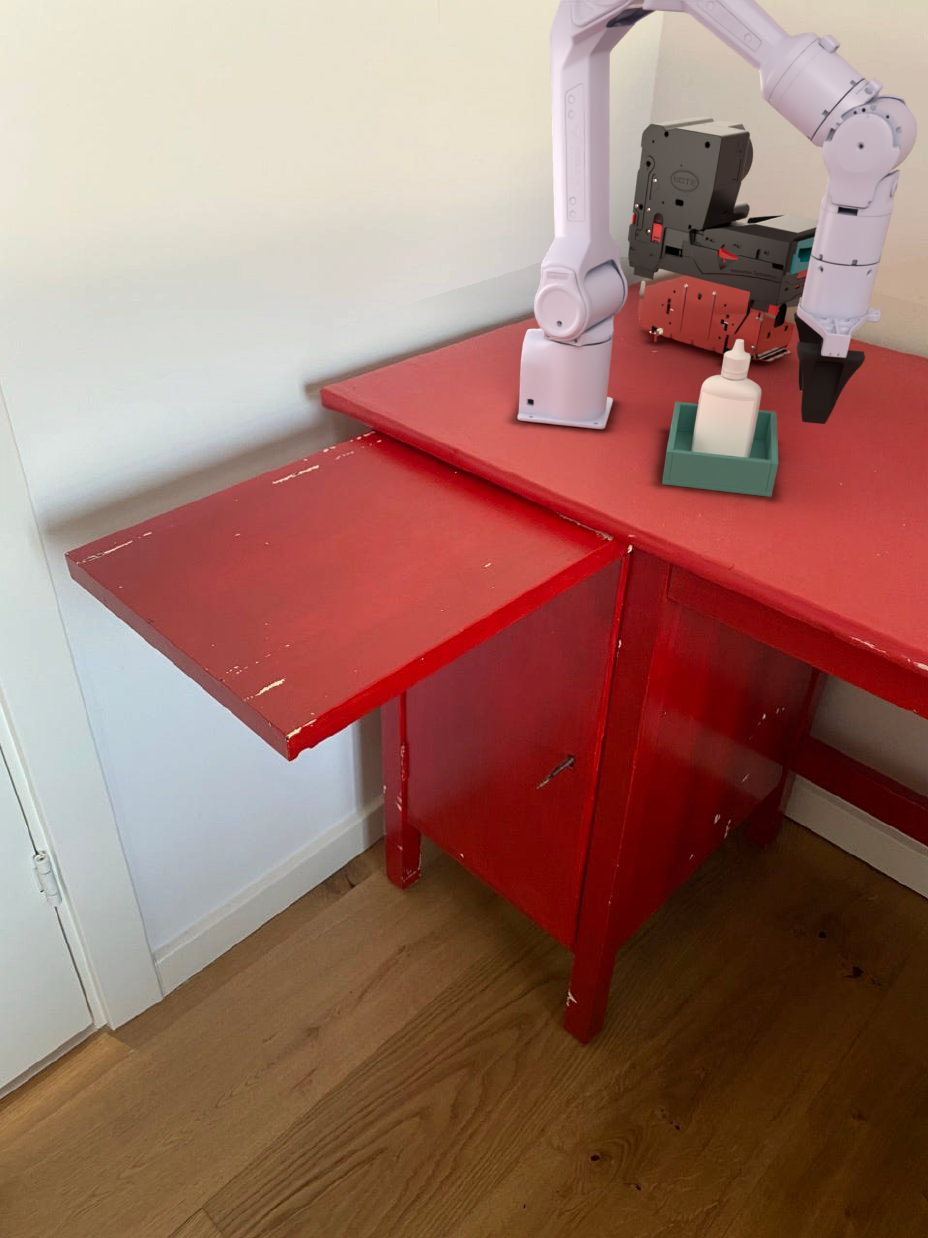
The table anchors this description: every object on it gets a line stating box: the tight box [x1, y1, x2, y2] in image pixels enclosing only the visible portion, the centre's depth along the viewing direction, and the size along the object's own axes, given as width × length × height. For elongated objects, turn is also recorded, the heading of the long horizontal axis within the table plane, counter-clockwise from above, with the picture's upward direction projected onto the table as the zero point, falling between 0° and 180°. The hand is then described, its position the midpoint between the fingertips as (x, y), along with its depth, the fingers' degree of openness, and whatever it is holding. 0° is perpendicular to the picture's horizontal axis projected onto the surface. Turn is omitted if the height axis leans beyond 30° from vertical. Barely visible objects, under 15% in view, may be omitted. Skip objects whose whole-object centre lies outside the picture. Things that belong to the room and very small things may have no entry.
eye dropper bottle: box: [691, 339, 763, 458], centre depth 94 cm, size 4×6×12 cm
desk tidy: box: [661, 401, 779, 498], centre depth 96 cm, size 10×12×4 cm
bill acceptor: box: [627, 115, 818, 363], centre depth 118 cm, size 10×23×25 cm, turn 44°
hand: (811, 405), depth 92 cm, fingers open, 7 cm apart
